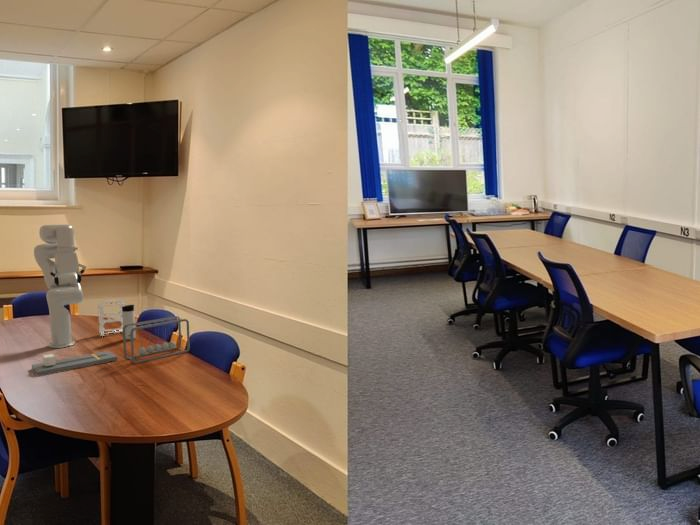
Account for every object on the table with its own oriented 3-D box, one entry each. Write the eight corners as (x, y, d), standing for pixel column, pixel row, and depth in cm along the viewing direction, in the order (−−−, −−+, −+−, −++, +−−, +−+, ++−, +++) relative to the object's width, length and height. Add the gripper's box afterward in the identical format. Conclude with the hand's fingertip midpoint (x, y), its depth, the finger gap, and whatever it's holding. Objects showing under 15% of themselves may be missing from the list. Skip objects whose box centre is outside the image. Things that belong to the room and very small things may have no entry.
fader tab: (43, 364, 235) (42, 355, 235) (53, 362, 238) (52, 353, 237) (45, 366, 231) (45, 357, 231) (55, 364, 234) (54, 356, 234)
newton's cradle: (132, 364, 242) (130, 328, 240) (123, 360, 249) (122, 325, 247) (190, 351, 263) (189, 318, 261) (180, 347, 271) (179, 315, 268)
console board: (32, 369, 236) (31, 364, 235) (109, 354, 258) (108, 350, 258) (37, 376, 226) (37, 371, 226) (117, 360, 248) (117, 356, 248)
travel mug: (131, 340, 284) (129, 306, 281) (121, 340, 285) (119, 305, 283) (138, 338, 290) (136, 303, 288) (128, 337, 291) (126, 303, 289)
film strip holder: (124, 329, 311) (122, 297, 308) (127, 334, 299) (125, 300, 297) (98, 332, 303) (96, 299, 301) (100, 337, 291) (98, 303, 289)
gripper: (82, 248, 260) (85, 281, 262) (44, 250, 248) (46, 285, 250) (86, 249, 254) (89, 283, 256) (47, 251, 243) (50, 286, 245)
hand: (68, 284), depth 253 cm, fingers open, 9 cm apart
